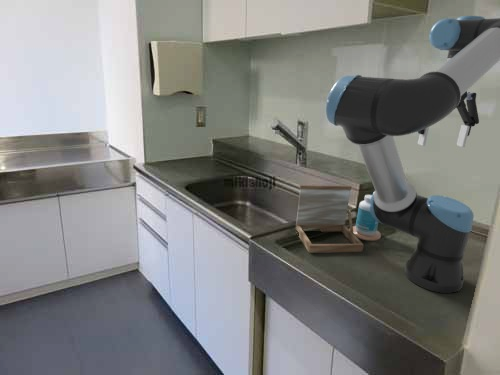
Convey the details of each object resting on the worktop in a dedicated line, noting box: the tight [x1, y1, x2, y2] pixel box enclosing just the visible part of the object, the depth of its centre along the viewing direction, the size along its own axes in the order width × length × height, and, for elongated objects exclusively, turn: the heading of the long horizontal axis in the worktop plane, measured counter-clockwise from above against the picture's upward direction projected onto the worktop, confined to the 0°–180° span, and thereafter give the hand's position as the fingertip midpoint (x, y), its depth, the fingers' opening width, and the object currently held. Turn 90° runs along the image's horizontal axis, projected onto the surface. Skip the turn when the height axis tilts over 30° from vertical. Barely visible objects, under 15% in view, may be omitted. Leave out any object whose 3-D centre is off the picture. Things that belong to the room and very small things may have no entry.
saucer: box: [348, 225, 382, 242], centre depth 131 cm, size 11×11×1 cm
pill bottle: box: [354, 194, 379, 236], centre depth 129 cm, size 8×7×14 cm
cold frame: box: [295, 184, 365, 254], centre depth 121 cm, size 16×19×17 cm
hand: (440, 145), depth 114 cm, fingers open, 13 cm apart
